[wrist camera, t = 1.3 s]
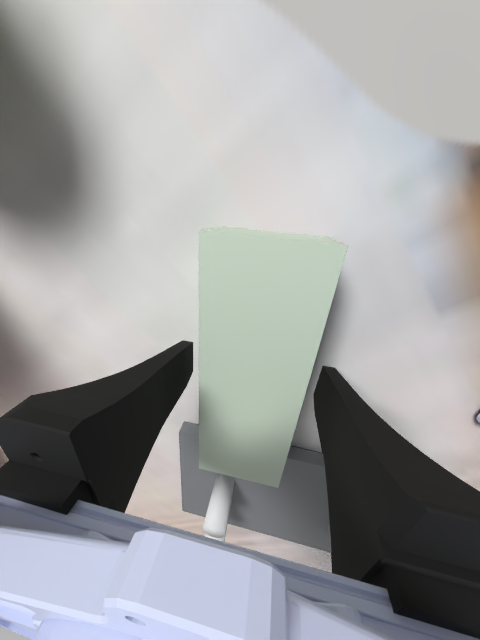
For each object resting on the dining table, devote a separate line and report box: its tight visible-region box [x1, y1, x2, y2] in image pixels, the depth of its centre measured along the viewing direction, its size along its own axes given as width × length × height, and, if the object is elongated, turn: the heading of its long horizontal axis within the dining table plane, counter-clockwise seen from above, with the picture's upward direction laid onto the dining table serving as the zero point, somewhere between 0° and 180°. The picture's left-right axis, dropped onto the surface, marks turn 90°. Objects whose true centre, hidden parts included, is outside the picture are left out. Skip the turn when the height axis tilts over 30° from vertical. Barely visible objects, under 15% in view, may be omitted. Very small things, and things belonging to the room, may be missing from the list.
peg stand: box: [179, 422, 331, 552], centre depth 17 cm, size 18×12×4 cm, turn 85°
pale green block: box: [199, 226, 348, 488], centre depth 12 cm, size 14×5×4 cm, turn 175°
